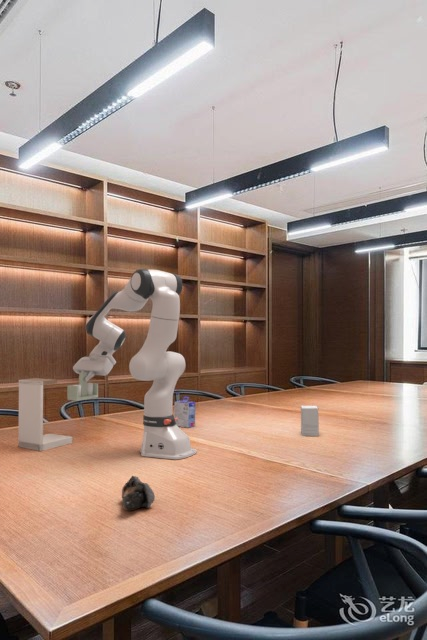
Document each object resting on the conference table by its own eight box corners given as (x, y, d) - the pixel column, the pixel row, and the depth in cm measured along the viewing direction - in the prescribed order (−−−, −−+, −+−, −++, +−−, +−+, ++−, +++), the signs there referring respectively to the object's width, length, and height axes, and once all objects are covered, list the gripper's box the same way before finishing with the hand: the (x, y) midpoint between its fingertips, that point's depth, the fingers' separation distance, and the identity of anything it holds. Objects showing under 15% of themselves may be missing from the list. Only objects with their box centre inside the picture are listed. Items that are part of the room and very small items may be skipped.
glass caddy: (98, 397, 206) (98, 372, 206) (76, 400, 196) (76, 374, 196) (88, 396, 209) (88, 371, 210) (67, 399, 199) (67, 373, 200)
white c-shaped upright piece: (72, 442, 196) (72, 378, 197) (40, 451, 183) (40, 381, 183) (50, 439, 204) (51, 376, 204) (18, 446, 190) (18, 379, 191)
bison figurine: (134, 497, 132) (102, 504, 125) (135, 472, 132) (104, 478, 125) (159, 509, 123) (126, 517, 116) (160, 482, 123) (127, 489, 117)
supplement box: (317, 432, 213) (316, 405, 214) (319, 436, 206) (318, 408, 206) (300, 432, 214) (300, 405, 214) (302, 436, 207) (301, 407, 207)
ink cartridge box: (196, 426, 230) (195, 397, 230) (188, 428, 225) (188, 398, 226) (181, 424, 236) (180, 395, 236) (173, 425, 231) (173, 396, 232)
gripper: (80, 351, 215) (63, 374, 207) (111, 353, 204) (94, 377, 196) (87, 360, 219) (70, 383, 210) (119, 362, 208) (102, 386, 199)
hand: (82, 380), depth 203 cm, fingers closed on glass caddy
